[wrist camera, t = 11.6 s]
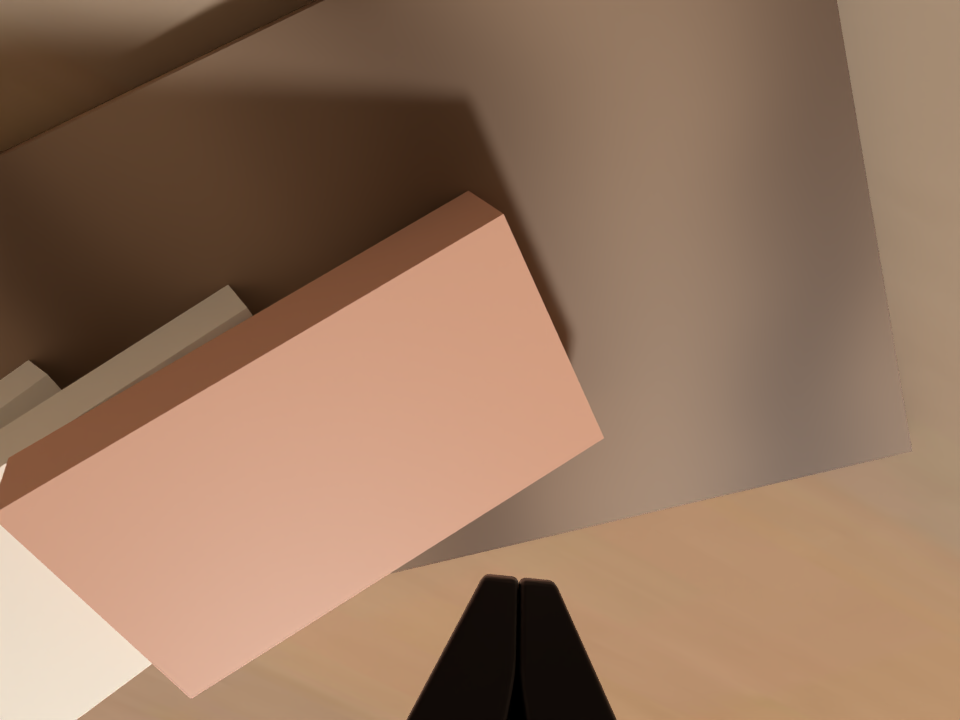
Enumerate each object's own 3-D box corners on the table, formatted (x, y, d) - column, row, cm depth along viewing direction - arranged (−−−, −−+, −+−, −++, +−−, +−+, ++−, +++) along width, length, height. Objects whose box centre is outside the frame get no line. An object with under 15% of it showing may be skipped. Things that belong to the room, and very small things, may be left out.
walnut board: (-115, 679, 25) (-126, 694, 25) (-513, 401, 19) (-537, 415, 18) (903, 434, 16) (912, 450, 16) (787, -228, 10) (798, -229, 10)
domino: (352, 462, 17) (-11, 724, 15) (228, 284, 15) (-224, 570, 13) (378, 496, 16) (-15, 787, 14) (247, 307, 14) (-253, 629, 12)
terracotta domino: (565, 399, 16) (187, 634, 15) (468, 191, 13) (8, 457, 13) (604, 437, 15) (190, 699, 14) (503, 213, 12) (-10, 516, 11)
